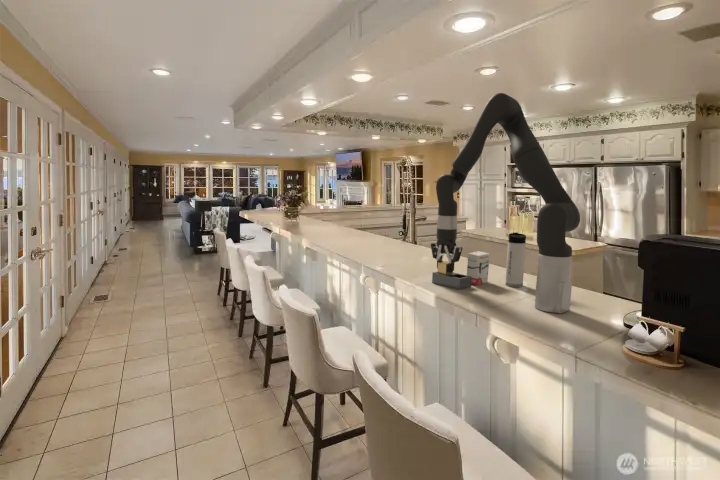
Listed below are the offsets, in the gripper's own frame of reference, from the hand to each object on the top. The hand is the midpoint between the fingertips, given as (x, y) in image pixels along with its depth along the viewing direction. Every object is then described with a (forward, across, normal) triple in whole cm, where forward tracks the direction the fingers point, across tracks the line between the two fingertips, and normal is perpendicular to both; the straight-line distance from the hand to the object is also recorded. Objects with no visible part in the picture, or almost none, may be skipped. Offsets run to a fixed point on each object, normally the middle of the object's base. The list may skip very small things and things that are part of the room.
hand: (445, 270), depth 159 cm
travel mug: (+5, -18, -19) cm, 27 cm away
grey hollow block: (+5, -3, 0) cm, 6 cm away
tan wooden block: (+5, 0, 0) cm, 5 cm away
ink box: (+5, -7, -11) cm, 14 cm away
